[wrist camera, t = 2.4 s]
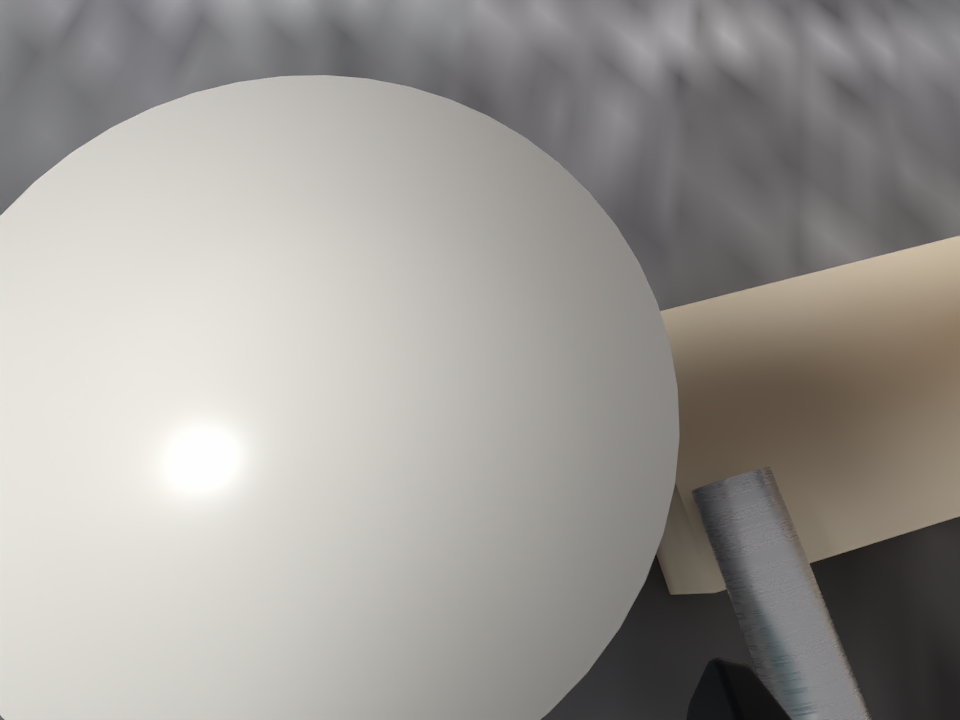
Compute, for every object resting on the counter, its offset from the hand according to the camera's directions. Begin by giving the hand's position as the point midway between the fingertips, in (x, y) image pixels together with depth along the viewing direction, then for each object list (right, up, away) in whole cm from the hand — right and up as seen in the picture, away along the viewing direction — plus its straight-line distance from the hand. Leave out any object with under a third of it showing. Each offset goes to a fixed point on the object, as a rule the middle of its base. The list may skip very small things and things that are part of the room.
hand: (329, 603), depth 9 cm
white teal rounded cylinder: (0, -1, +9) cm, 9 cm away
